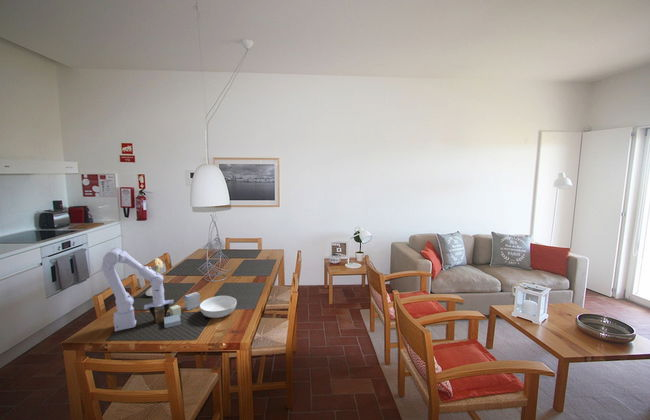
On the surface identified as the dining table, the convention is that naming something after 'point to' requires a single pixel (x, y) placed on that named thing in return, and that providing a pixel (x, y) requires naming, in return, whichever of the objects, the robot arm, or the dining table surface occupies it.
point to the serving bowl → (218, 306)
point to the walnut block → (159, 316)
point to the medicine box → (192, 300)
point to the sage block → (175, 310)
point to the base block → (172, 321)
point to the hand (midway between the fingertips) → (160, 317)
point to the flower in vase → (159, 265)
